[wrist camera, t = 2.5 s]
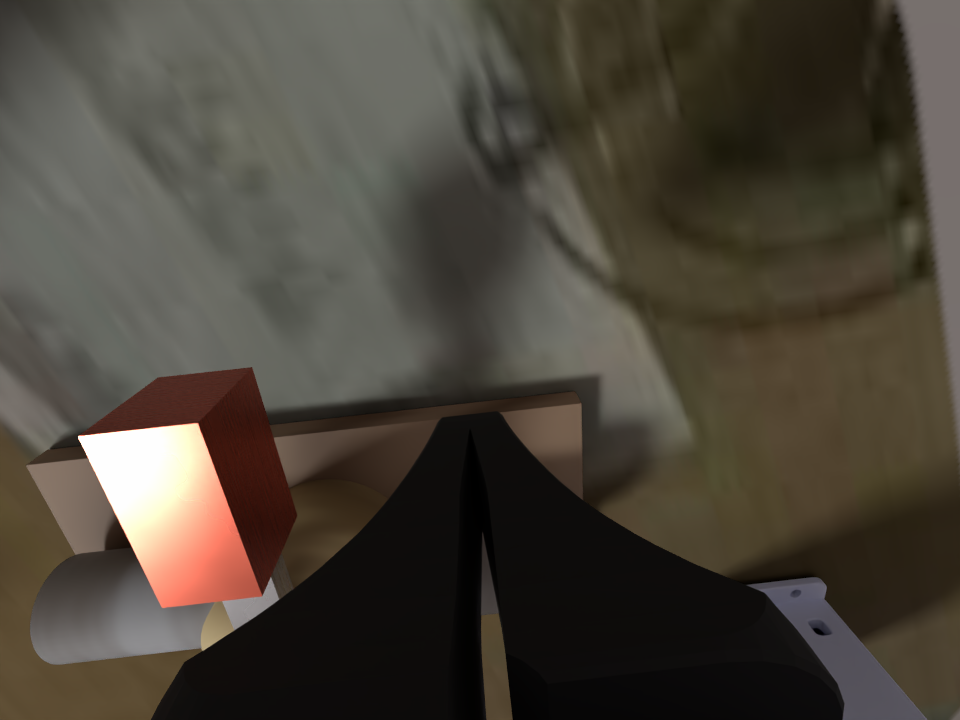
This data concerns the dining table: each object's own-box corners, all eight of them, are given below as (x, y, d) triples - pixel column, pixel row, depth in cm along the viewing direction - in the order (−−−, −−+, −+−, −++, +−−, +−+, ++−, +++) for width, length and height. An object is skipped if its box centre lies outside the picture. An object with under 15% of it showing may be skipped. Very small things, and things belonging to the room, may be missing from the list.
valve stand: (574, 391, 18) (623, 481, 13) (579, 584, 22) (618, 713, 17) (48, 449, 18) (-116, 565, 13) (145, 634, 22) (50, 781, 17)
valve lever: (343, 667, 15) (324, 761, 13) (274, 674, 15) (242, 770, 13) (252, 367, 11) (197, 423, 9) (158, 377, 11) (78, 436, 9)
